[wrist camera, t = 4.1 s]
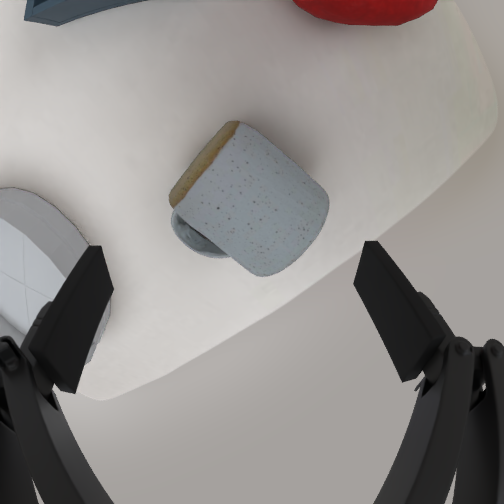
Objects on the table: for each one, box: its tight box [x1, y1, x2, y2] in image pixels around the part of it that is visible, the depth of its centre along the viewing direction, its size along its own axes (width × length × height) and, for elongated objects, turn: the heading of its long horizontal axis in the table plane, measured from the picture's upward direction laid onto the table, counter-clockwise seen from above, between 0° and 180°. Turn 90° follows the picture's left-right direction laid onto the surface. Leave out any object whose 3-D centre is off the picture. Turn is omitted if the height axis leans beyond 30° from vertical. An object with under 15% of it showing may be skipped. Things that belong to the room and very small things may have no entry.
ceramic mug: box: [169, 121, 329, 277], centre depth 18 cm, size 11×8×8 cm
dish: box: [0, 188, 110, 365], centre depth 22 cm, size 22×22×5 cm
